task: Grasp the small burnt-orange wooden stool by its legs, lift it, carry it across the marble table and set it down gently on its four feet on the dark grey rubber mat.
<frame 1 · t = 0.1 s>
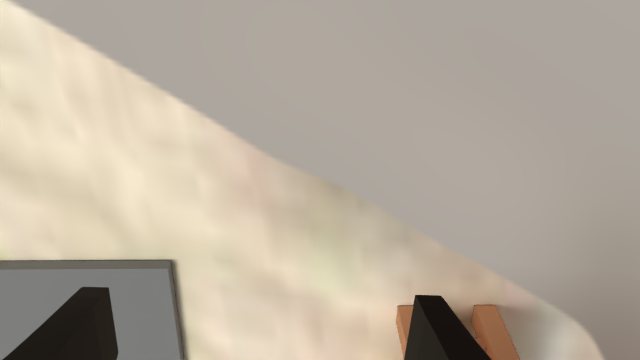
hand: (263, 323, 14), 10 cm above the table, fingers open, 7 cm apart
stool: (441, 342, 28), on the table
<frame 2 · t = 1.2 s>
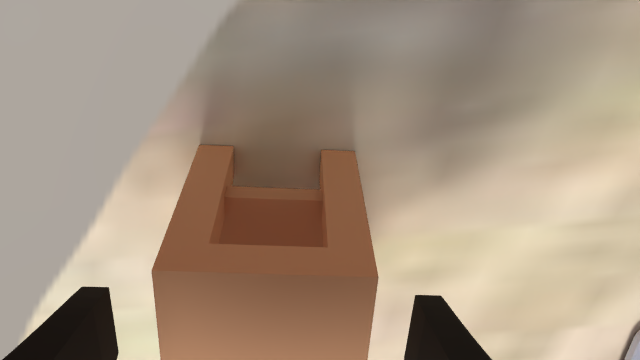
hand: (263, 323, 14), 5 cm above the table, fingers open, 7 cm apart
stool: (275, 214, 18), on the table
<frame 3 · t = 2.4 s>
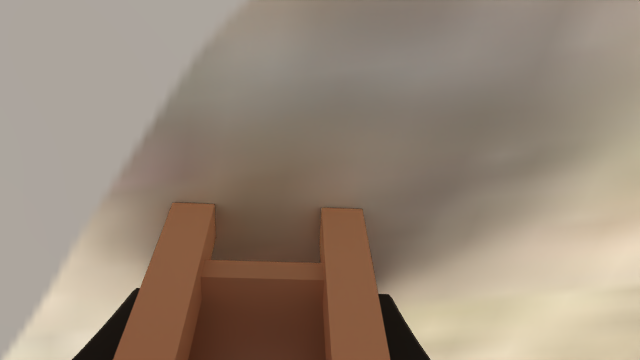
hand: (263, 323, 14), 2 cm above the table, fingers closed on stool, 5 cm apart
stool: (267, 280, 15), on the table, touching gripper
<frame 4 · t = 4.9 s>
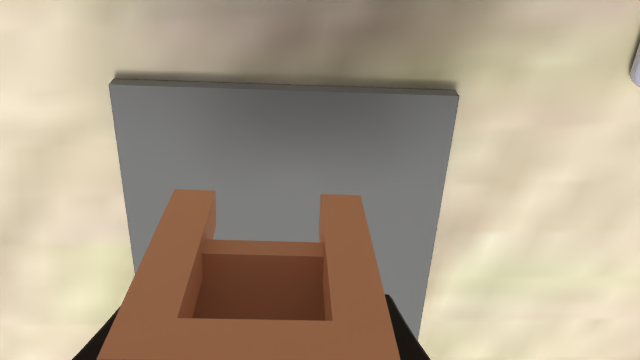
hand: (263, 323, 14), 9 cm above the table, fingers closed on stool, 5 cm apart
rubber mat: (283, 257, 24), on the table
stool: (266, 270, 15), point 7 cm above the table, touching gripper
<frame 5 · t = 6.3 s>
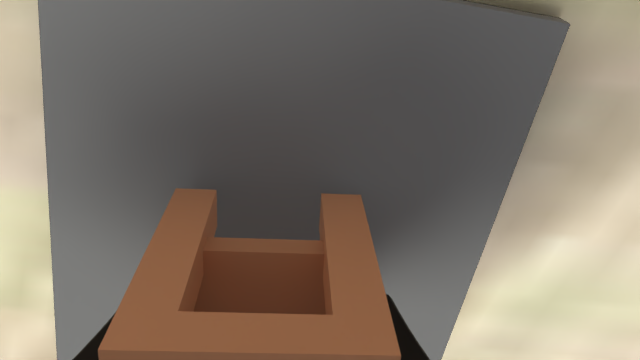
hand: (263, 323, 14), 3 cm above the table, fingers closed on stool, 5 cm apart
rubber mat: (271, 239, 17), on the table
stool: (267, 270, 15), point 2 cm above the table, tilted 6°, touching gripper
when the fingers open (3 cm above the table, at t = 7.2 s): stool stays where it is, resting on rubber mat.
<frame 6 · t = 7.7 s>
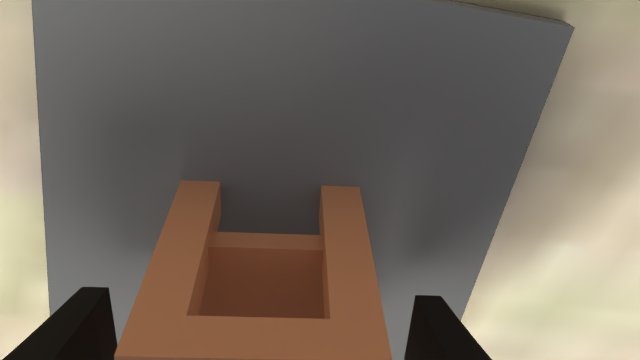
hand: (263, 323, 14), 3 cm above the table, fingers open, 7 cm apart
rubber mat: (269, 245, 16), on the table
stool: (269, 256, 16), point 1 cm above the table, touching rubber mat
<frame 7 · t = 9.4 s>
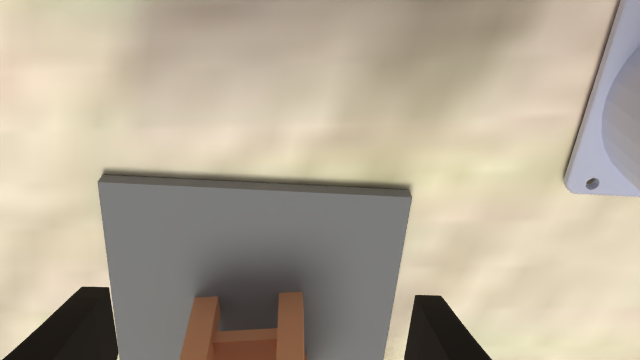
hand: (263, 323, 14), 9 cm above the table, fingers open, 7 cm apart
rubber mat: (254, 326, 26), on the table
stool: (253, 334, 25), point 1 cm above the table, touching rubber mat
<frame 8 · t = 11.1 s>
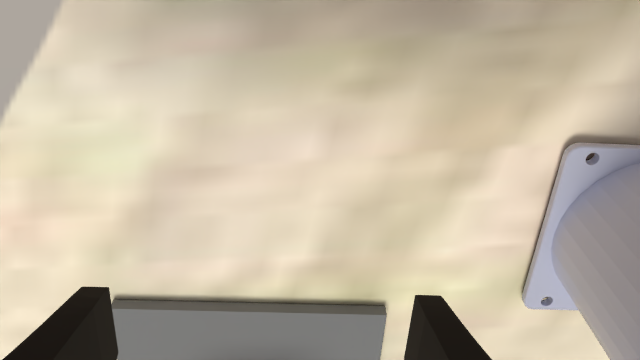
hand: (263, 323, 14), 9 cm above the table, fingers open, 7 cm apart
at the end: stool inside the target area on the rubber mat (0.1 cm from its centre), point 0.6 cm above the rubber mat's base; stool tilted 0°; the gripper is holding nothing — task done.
